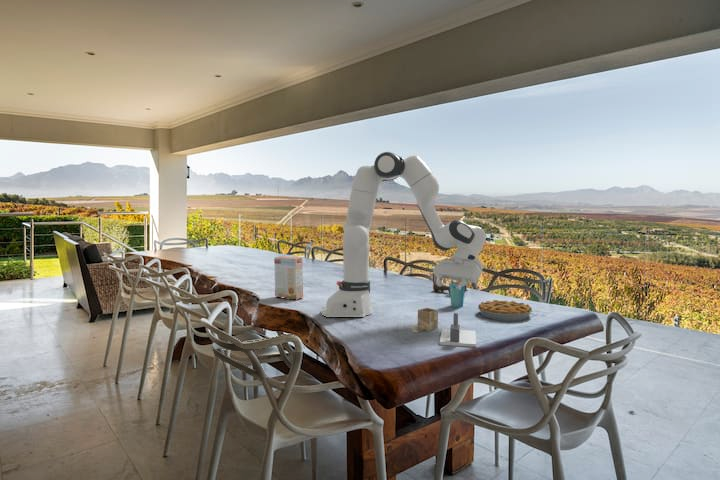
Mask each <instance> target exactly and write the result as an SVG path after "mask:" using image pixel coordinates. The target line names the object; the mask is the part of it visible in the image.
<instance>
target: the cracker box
mask: <svg viewBox="0 0 720 480" xmlns="http://www.w3.org/2000/svg"><path fill="white" fill-rule="evenodd" d="M273 261H274V262H273V263H274V295H275V296H276V297H284V298H291V299H299V298H302V297H303V298H304V279H303V278H304V272H303V271H304V270H303V257H295V256H285V255H284V256H283V255H282V256H275V257H274V260H273ZM275 296H274V297H275ZM299 300H300V299H299Z"/></svg>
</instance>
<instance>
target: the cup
mask: <svg viewBox="0 0 720 480" xmlns="http://www.w3.org/2000/svg"><path fill="white" fill-rule="evenodd" d="M450 280H451V279H450ZM460 282H461V281H455V280H451V282H449V283H448V286H449V287H450V294H449V296H450V306H451V307H453V308H462V307H464V301H465V293H464V291H465V286H466V287H467V285H468V284H469V282H467V284H466V285H464V286H463V287H462V288H461V290H458V289H457V288H456V285H457V284H459V283H460Z"/></svg>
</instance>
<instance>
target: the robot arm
mask: <svg viewBox="0 0 720 480" xmlns="http://www.w3.org/2000/svg"><path fill="white" fill-rule="evenodd" d="M398 178H402V179H403V180H404V181H405V182H406V183H407V185H408V187H409V189H410V190H411V192H412V193H413V195H414V198H415V199H416V205H417V207H418V210H419V211H420V214H421V216H422V218H423V220H424V222H425V224H426V226H427V228H428V229H429V230H428V231H430V233H431V238H432V239H431V240H432V241H433V244H434V246H435V247H436V248H437V249H439V250H441V251H445V252H446V251H447V252H448V251H450V250H451V249H453V248H454V247H456V250H455V252H454V254H453V255H452V257H451V258H448V257H446V258H443V259H441V260H440V261H439V262H438V263H437V264H436V265H435V267H434V269H433V271H432V272H433V275H434V276H435V277H436V278H437V286H442V284H444V283H443V280H445V279H446V280H453V281H456V282H459V281H461V282H460V283H459V284H457V285H456V288H457V289H458V290H461V288H462V287H463V286H464V285H466V284H467V282H468V283H470V284H475V283H476V282H478V281H479V279H480V277H481V275H482V271H483V269H484V265H483V263H482V261H481V260H480V258H479V257H478V255H479V254H480V253H481V252H482V249H483V247H484V245H485V243H486V239H487V233H486V231H484V229H483V228H482V227H480V226H477V225H470V224H467V223H466V222H465V221H463V220H461V219H453V220H452V221H450V222H447V224H446V225H445V224H444V223H443V222H442V219H441V218H440V216H439V214H438V212H437V210H436V207H435V204H436V199H437V196H438V194H439V189H440V185H439V182H438V180H437V178H436V176H435V175H434V173H433V172H432V169H430V168H429V166H428V165H427V164H426V162H425V161H424V160H423V159H422V158H421V157H419V156H418V155H411V156H407V157H406V158H403V157H402V156H399V155H397V154H396V153H394V152H390V151H384V152H381V153H380V154H378V155H377V157H376V158H375V159H374V164H373V165H371V166H370V165H363V166H360V167H358V169H357V171H356V174H355V176H354V179H353V182H352V186H351V187H352V188H351V191H350V196H349V202H348V208H347V213H346V218H345V225H344V229H343V234H342V249H343V250H342V252H343V253H342V256H343V257H342V258H343V260H342V261H343V263H342V265H343V280H342V281H340V280H337V281H336V285H337V286H338V290H337V291H336V292H334V293H333V294H332V295H331V296H329V297H328V298H327V300H326V304H325V305H326V306H325V308H322V309H321V310H320V314H321V313H322V314H323V315H324V316H326V317H363V318H365V317H366V315H367V316H369V315H372V314H373V313H374V312H373V307H372V304H371V298H370V297H371V295H370V293H371V281H370V230H371V224H372V219H373V216H374V212H375V206H376V201H377V195H378V191H379V187H380V183H381V182H389V181H394V180H397V179H398ZM467 285H468V284H467ZM467 285H466V286H467ZM324 316H323V317H324ZM326 317H325V318H326Z"/></svg>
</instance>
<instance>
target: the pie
mask: <svg viewBox="0 0 720 480" xmlns="http://www.w3.org/2000/svg"><path fill="white" fill-rule="evenodd" d="M477 309H478V310H479V311H480V314H481V316H483V317H485V318H488V319H492V320H498V321H505V322H515V321H523V320H526V319H527V318H529V316H530V314H531V313H532V312H533V309H532V307H531V306H530V305H529V304H525V303H524V302H520V303H519V302H516V301H507V300H497V299H495V300H492V301H490V300H486V301H485V302H484V301H481V302H480V303H479V304H478V306H477Z"/></svg>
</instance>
